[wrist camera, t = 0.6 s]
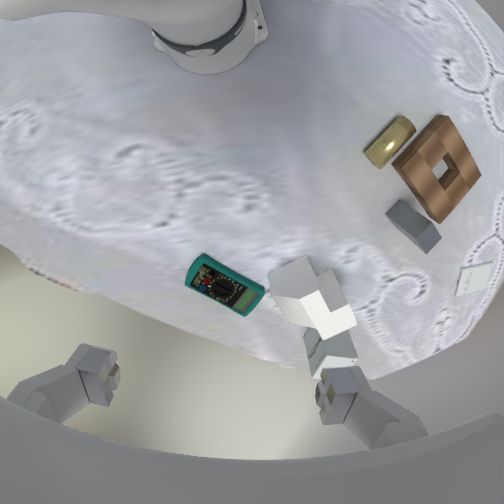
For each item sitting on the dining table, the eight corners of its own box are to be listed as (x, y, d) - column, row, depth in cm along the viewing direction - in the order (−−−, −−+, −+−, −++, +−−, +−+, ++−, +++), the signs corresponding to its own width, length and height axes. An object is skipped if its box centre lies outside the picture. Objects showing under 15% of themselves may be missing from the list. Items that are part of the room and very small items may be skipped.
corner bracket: (340, 287, 57) (357, 324, 47) (291, 310, 60) (299, 350, 49) (320, 246, 53) (338, 280, 43) (268, 273, 56) (272, 311, 45)
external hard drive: (482, 286, 60) (452, 294, 60) (489, 260, 56) (459, 266, 57) (485, 289, 58) (455, 297, 59) (493, 263, 55) (463, 270, 55)
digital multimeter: (201, 249, 54) (198, 257, 51) (266, 286, 57) (266, 295, 55) (183, 277, 56) (180, 285, 54) (246, 310, 60) (245, 319, 57)
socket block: (391, 164, 46) (401, 168, 42) (436, 114, 41) (448, 116, 38) (429, 217, 51) (439, 224, 47) (469, 170, 46) (481, 175, 42)
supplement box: (315, 312, 60) (327, 354, 49) (344, 318, 61) (360, 358, 50) (302, 337, 63) (311, 379, 52) (330, 342, 64) (342, 382, 53)
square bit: (385, 214, 50) (415, 239, 40) (398, 199, 49) (432, 222, 38) (396, 227, 52) (426, 254, 41) (409, 213, 50) (441, 237, 39)
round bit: (374, 166, 47) (384, 171, 43) (361, 150, 45) (371, 154, 42) (407, 130, 43) (419, 134, 40) (395, 114, 42) (407, 116, 38)
